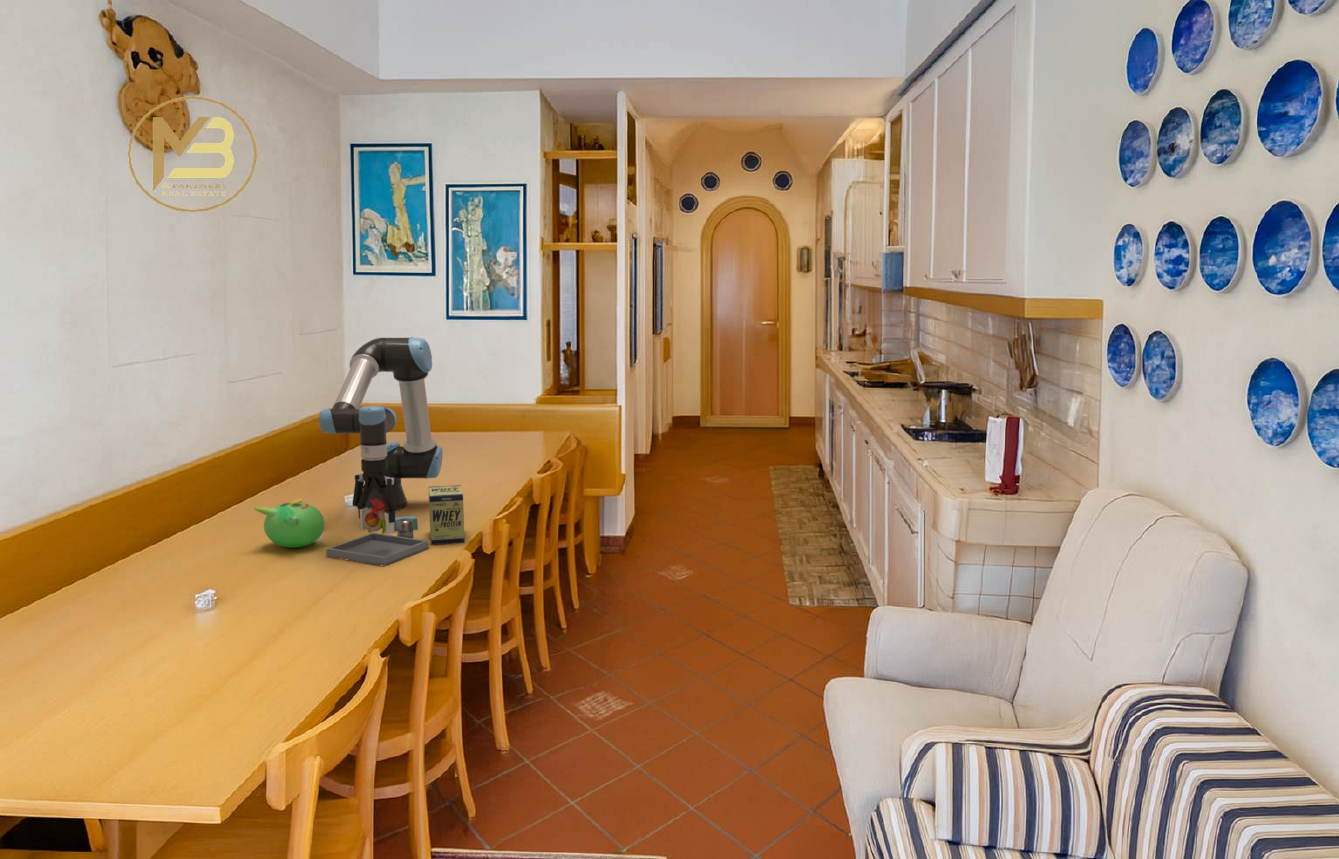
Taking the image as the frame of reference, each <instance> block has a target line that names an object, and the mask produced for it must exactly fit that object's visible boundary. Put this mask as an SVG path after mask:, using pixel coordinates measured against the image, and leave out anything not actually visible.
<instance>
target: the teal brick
mask: <svg viewBox="0 0 1339 859" xmlns="http://www.w3.org/2000/svg"><path fill="white" fill-rule="evenodd" d="M399 519H412V520H413V531H417V530H418V529H419V528H418V517H417V516H416V515H408V516H407V515H406V516H397V517H396V516H395V522H394V531H397V520H399Z"/></svg>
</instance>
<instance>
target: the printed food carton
mask: <svg viewBox="0 0 1339 859" xmlns="http://www.w3.org/2000/svg"><path fill="white" fill-rule="evenodd" d="M370 501H371V503H372V505H373V506H374V507H373V508H369V509H367V510H366V511H365V512H364V514H363V516H362V522H363V525H364V527H365V528H366V530H367V533H368V534H370V533H373V532H378V531H379V530H381V534H385V535H386V519H385V512H384V513H383V512H382V509H383V510H385V509H386V507H385V505H384V502H383V501H380V500H378V499H377V498H376V499H371V500H370ZM370 513H375V514H370ZM377 515H378V516H379V517H378V516H377ZM379 518H380V519H379ZM377 524H378V525H377ZM375 525H377V526H375Z"/></svg>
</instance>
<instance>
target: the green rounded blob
mask: <svg viewBox="0 0 1339 859" xmlns="http://www.w3.org/2000/svg"><path fill="white" fill-rule="evenodd" d="M303 500H304V499H303V498H301V497H300V498H296V499H294V500H292V501H289V502H284V503H281V504H278V505H277V506H275V507H267V506H266V507H265V506H255V507H254V508H253V509H254V510H255V511H256V512H258V513H260V514H262V515H265V518H264V521H263V530H264V533H265V535H266V536H267V538H268V539H269V540H270V541H271V542H272V543H273V544H276V545H277V546H280V547H283V548H284V547H285V548H288V549H291V548H293V549H295V548H303V547H306V546H309V545H312V544H313V543H314V542H316V541H317V540H319V538H320V537H321V536H322V535H323V532H324V530H325V519H324V516H323V514H322V512H320V510H319V509H318V508H317V507H315V506H314V505H312V504H310V503H307V502H303Z"/></svg>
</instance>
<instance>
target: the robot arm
mask: <svg viewBox="0 0 1339 859" xmlns="http://www.w3.org/2000/svg"><path fill="white" fill-rule="evenodd" d="M432 360H433V356H432V350H431V348H430V344H429V342H427V341H426V339H425V338H423V337H422V338H421V337H415V336H414V337H413V336H411V337H376V338H374V339H371V340H369V341H367V342H366V343H364V344H362V346H360V347H359V348H358V349H357V350H356V351H355V352H354V354H353V355H352V356H351V359H350V361H349V371H348V373H347V375H346V377H345V379H344V382H343V383H342V386H341V388H340V390H339V393H338V394H337V397H336V400H335V402H334V403H333V405H332V408H324V409H321V411H320V413H319V416H318V422H319V423H318V425H319V428H320V431H321V432H322V433H325V434H334V435H336V434H359V443H360V457H361V458H362V459H361V460H360V461H361V462H360V468H361V471H362V472H363V473H359V474H356V475H354V490H353V496H352V497H353V498H352V503H351V504H352V506H353V507H356V508H357V509H358V519H360V520H359V521H360V531H365V530H367V529H366V528H365V527H364V525H363V522H362V516H363V514H364V512H365V511H366V510H367V509H369V508H373V507H374V506H373V505H372V503H371V501H370V500H371V499H376V498H377V499H378V500H380V501H383V502H384V505H385V507H386V509H385V510H384V515H385V520H386V532H385V535H390V534H392V533H395V532H394V522H395V517H396V512H397V511H399V510H401V509H403V508H406V507H408V500H407V496H406V494H405V492H404V489H403V486H402V485H403V484H402V479H425V480H427V479H435V478H437V477H439V475H440V473H441V469H442V464H443V447H442V446H441V445H440V446H439V445H437V440H436V439H435V438H433V437H432V433H431V432H432V431H431V424H430V414H429V409H428V398H427V392H426V391H427V390H426V383H425V382H426V381H425V380H426V378H427V377H428V376H429V372H431V371H432V368H433V361H432ZM381 372H382V373H384V372H385V373H392V374H393V379H394V380H395V381H397V382H398V384H399V392H400V399H401V407H402V415H403V422H404V423H403V424H404V429H405V437H406V440H405V441H404V442H403V444H402V446H401V443H400V442H399V441H389V442H388V441H387V433H388V432H390V431H392V430H393V429H394V428H395V426H396V425H397V422H398V417H397V414H396V412H395V411H394V410H393V409H391V408H390V407H386V406H382V405H381V406H380V405H370V406H369V405H368V406H362V403H363V401H364V398H365V396H366V394H367V391H368V388H369V386H370V384H371V382H372V380H373V378H375V377H376V376H377V375H378V373H381ZM361 406H362V407H361ZM382 510H383V509H382Z"/></svg>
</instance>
